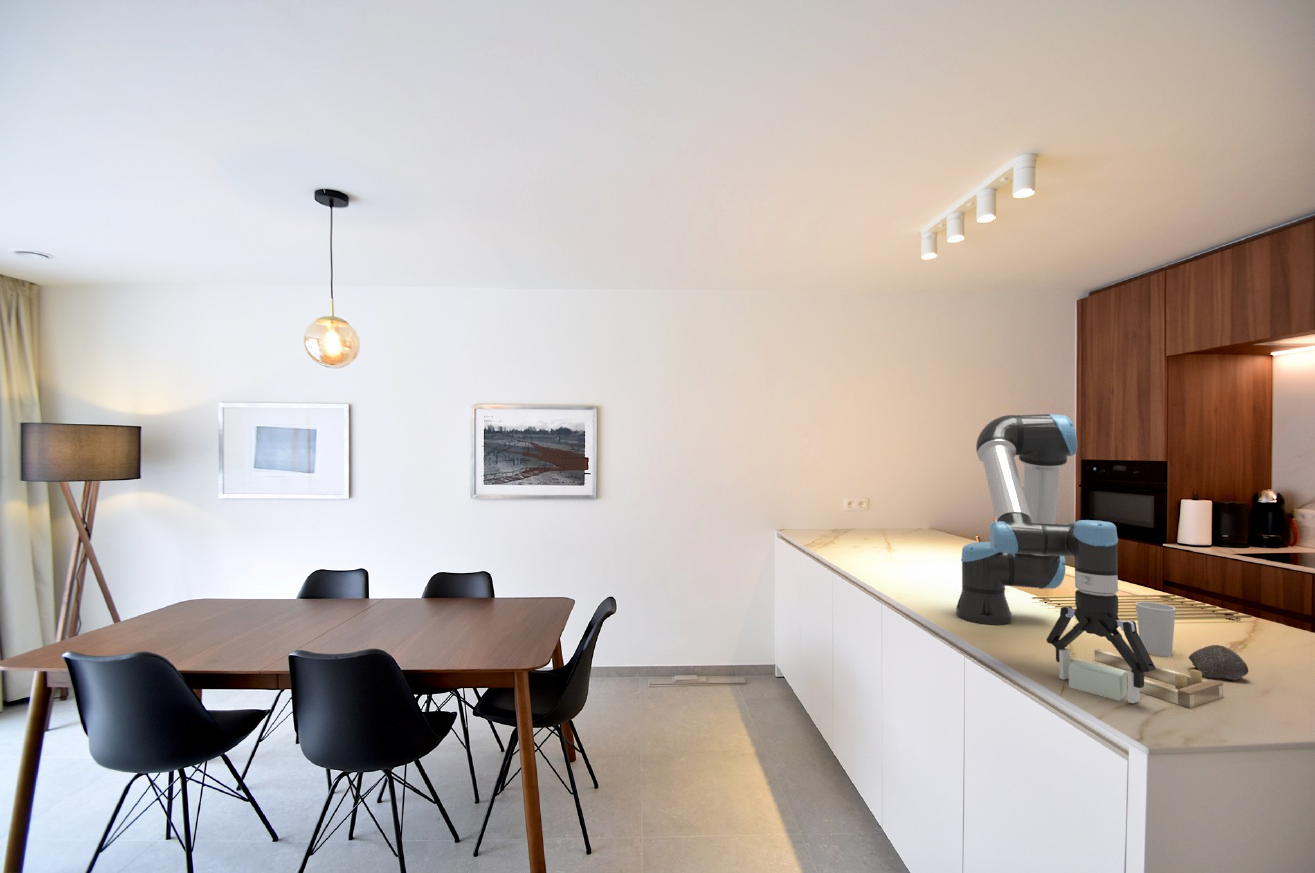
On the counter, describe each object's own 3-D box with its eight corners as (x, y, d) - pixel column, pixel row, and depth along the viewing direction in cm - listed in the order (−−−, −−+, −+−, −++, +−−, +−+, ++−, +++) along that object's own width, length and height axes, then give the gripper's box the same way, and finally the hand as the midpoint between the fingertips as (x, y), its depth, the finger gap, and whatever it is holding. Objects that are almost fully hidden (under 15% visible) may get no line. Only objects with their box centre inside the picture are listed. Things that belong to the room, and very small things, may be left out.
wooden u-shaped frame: (1065, 667, 139) (1065, 646, 139) (1098, 659, 144) (1098, 639, 144) (1190, 708, 117) (1189, 683, 117) (1223, 696, 122) (1222, 673, 123)
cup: (1184, 658, 145) (1183, 610, 145) (1148, 656, 146) (1147, 608, 147) (1163, 647, 153) (1162, 602, 153) (1129, 645, 154) (1128, 600, 155)
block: (1068, 687, 128) (1068, 665, 128) (1077, 681, 131) (1076, 658, 131) (1119, 701, 121) (1119, 677, 121) (1127, 693, 124) (1126, 670, 124)
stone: (1183, 684, 138) (1193, 666, 132) (1184, 653, 142) (1194, 633, 136) (1240, 701, 132) (1254, 682, 126) (1239, 668, 137) (1253, 648, 130)
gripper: (1028, 581, 136) (1029, 671, 136) (1154, 607, 113) (1156, 716, 113) (1048, 578, 139) (1050, 667, 139) (1175, 603, 117) (1177, 709, 116)
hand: (1097, 689), depth 126 cm, fingers open, 13 cm apart
